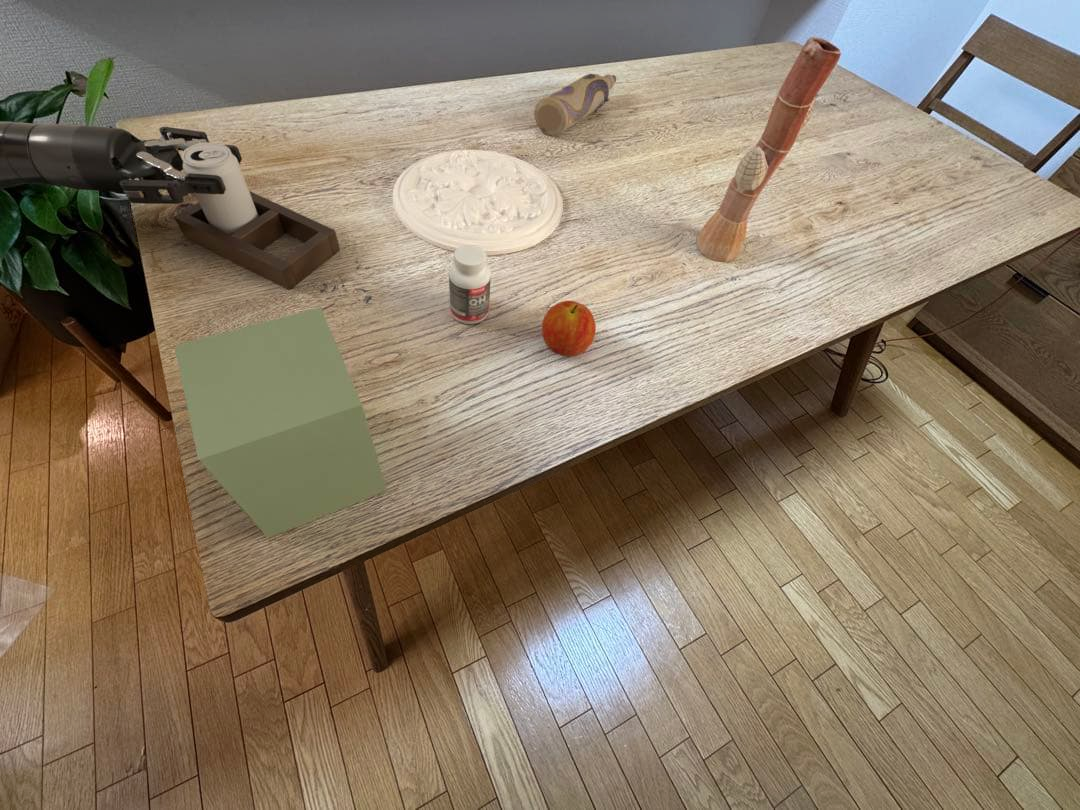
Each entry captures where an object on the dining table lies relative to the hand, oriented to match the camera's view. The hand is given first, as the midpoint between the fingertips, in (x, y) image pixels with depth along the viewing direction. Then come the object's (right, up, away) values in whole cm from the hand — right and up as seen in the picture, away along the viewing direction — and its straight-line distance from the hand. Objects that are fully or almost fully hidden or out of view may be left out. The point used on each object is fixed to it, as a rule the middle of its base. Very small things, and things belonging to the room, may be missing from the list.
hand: (231, 169), depth 67 cm
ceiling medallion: (+30, +3, +19) cm, 36 cm away
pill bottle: (+31, -18, +4) cm, 36 cm away
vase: (+71, -4, +19) cm, 73 cm away
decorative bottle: (+49, +29, +40) cm, 69 cm away
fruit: (+44, -23, +2) cm, 49 cm away
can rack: (0, -8, +7) cm, 10 cm away
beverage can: (-3, -6, +8) cm, 10 cm away
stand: (+16, -37, -12) cm, 42 cm away
